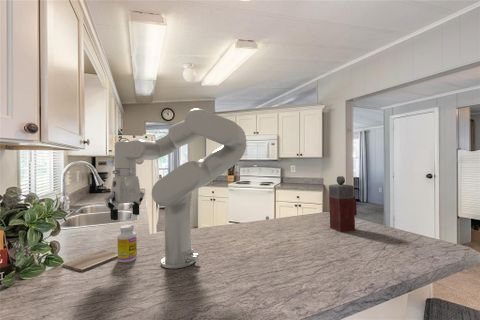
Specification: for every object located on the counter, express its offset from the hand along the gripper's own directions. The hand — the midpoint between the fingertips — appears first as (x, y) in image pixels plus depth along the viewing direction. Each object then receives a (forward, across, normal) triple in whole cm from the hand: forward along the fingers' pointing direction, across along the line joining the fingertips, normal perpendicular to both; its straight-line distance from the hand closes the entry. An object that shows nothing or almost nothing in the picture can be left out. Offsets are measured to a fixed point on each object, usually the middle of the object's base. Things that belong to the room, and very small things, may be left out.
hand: (125, 217), depth 95 cm
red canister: (+15, +75, -74) cm, 106 cm away
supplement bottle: (+17, 0, -1) cm, 17 cm away
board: (+17, -6, +10) cm, 20 cm away
